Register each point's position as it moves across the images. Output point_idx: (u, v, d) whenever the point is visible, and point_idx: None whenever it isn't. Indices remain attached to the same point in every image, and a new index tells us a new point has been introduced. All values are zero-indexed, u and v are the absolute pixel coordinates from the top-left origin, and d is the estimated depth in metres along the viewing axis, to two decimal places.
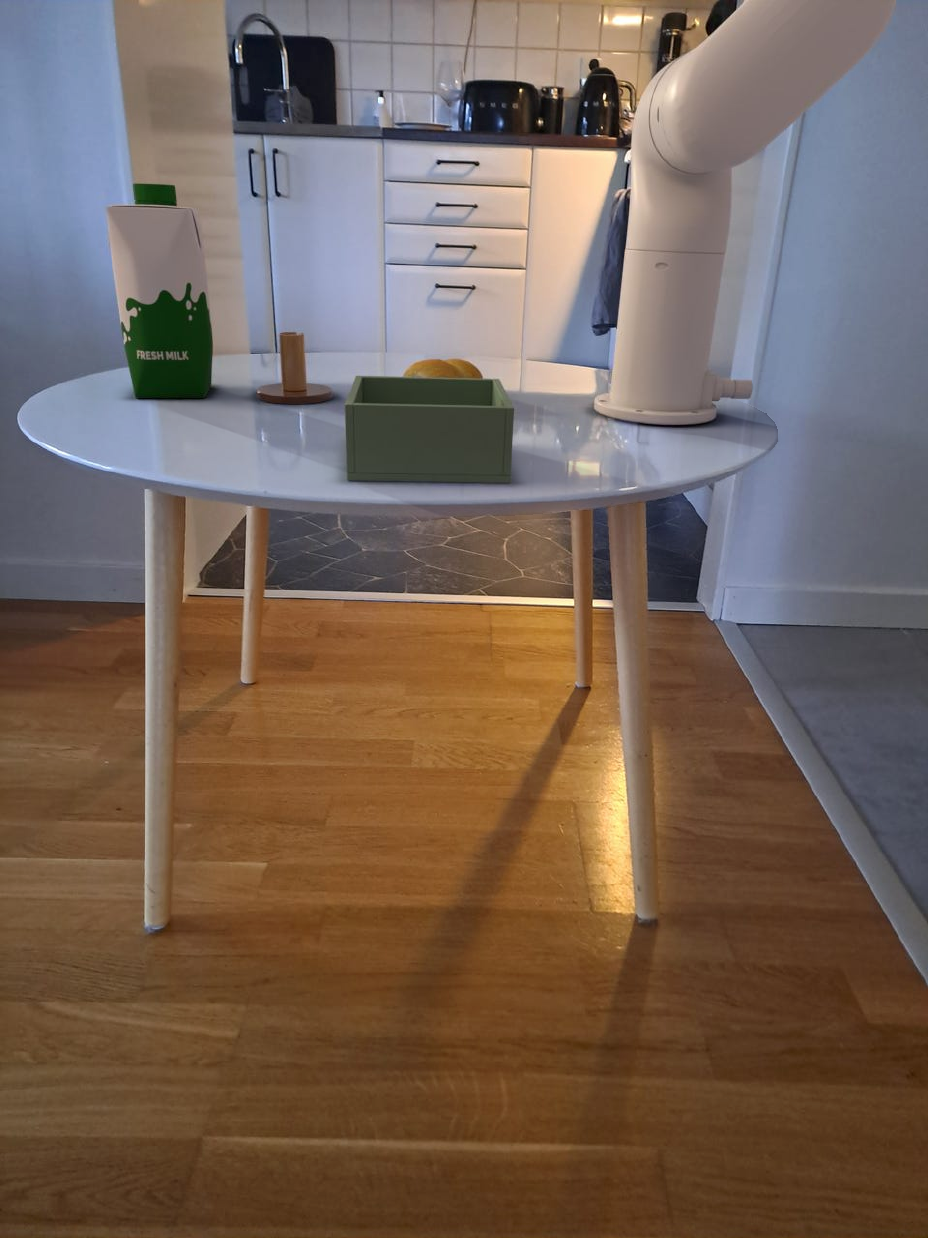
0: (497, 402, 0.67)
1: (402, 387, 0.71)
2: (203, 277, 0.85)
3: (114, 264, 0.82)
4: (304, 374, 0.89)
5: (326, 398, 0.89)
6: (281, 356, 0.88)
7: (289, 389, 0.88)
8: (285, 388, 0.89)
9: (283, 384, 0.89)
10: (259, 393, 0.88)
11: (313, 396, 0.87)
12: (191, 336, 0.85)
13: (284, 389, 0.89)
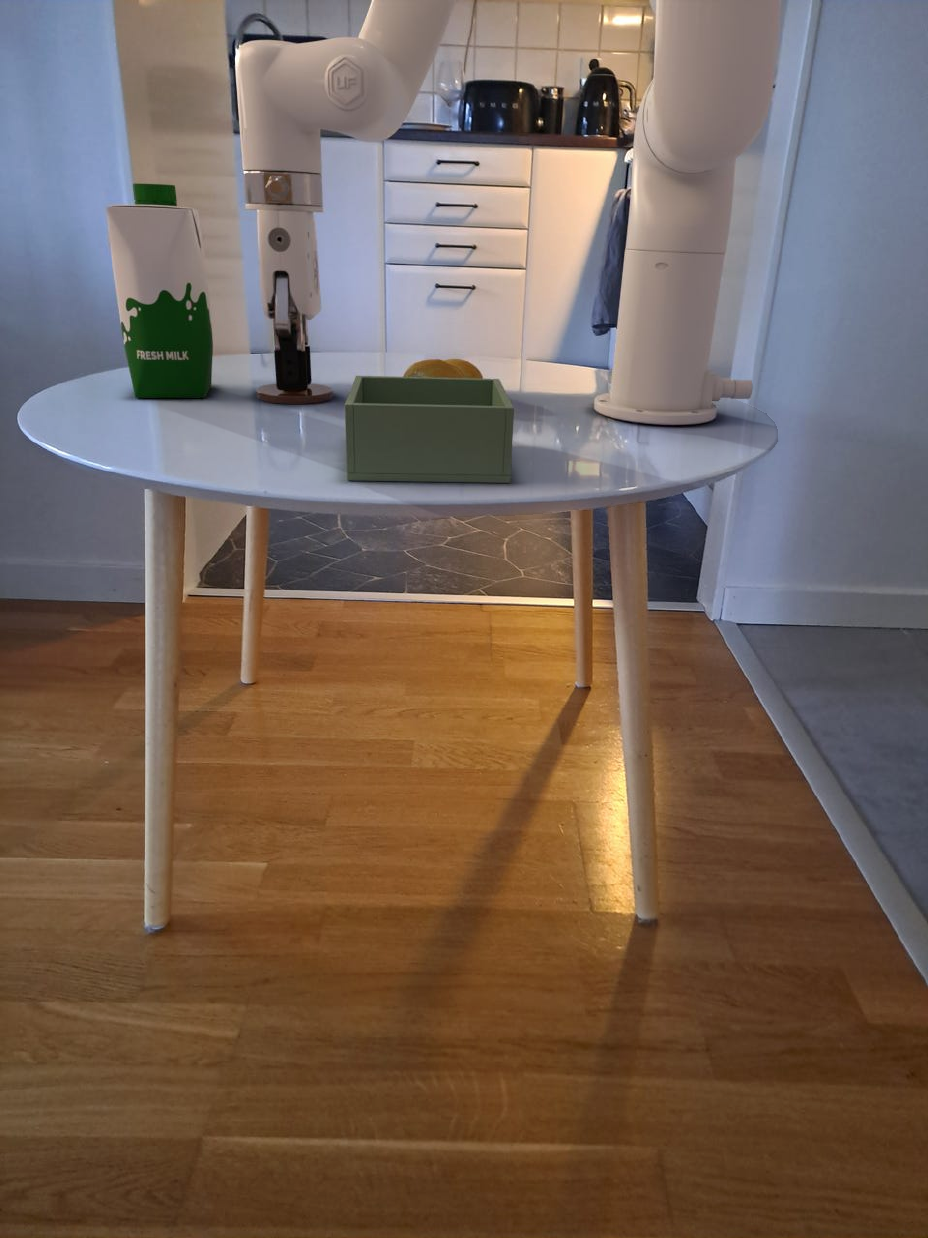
0: (497, 402, 0.67)
1: (402, 387, 0.71)
2: (203, 277, 0.85)
3: (114, 264, 0.82)
4: None
5: (326, 398, 0.89)
6: None
7: None
8: None
9: None
10: (259, 393, 0.88)
11: (313, 396, 0.87)
12: (191, 336, 0.85)
13: None
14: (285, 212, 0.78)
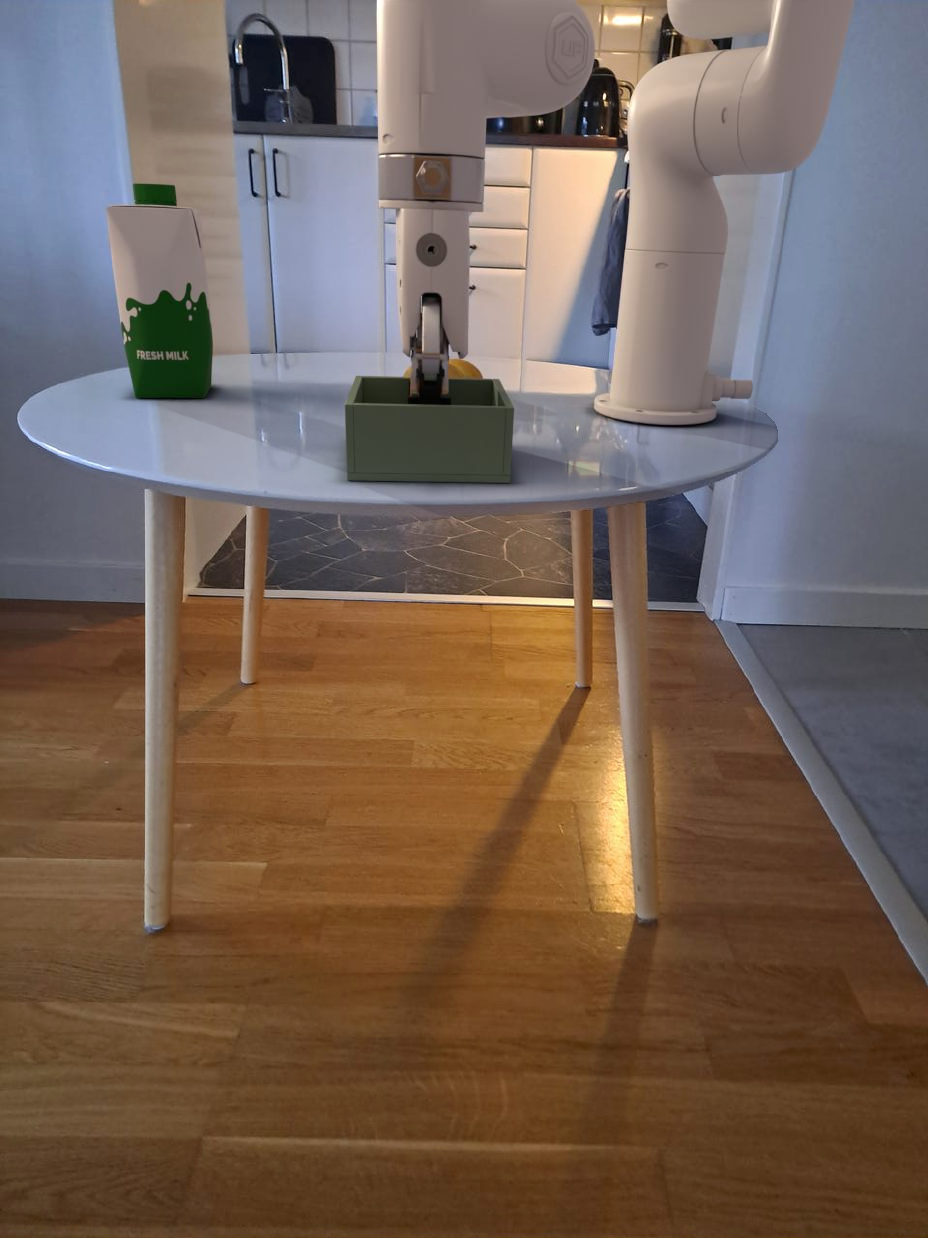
0: (497, 402, 0.67)
1: (402, 387, 0.71)
2: (203, 277, 0.85)
3: (114, 264, 0.82)
4: None
5: None
6: None
7: None
8: None
9: None
10: None
11: None
12: (191, 336, 0.85)
13: None
14: (442, 212, 0.56)
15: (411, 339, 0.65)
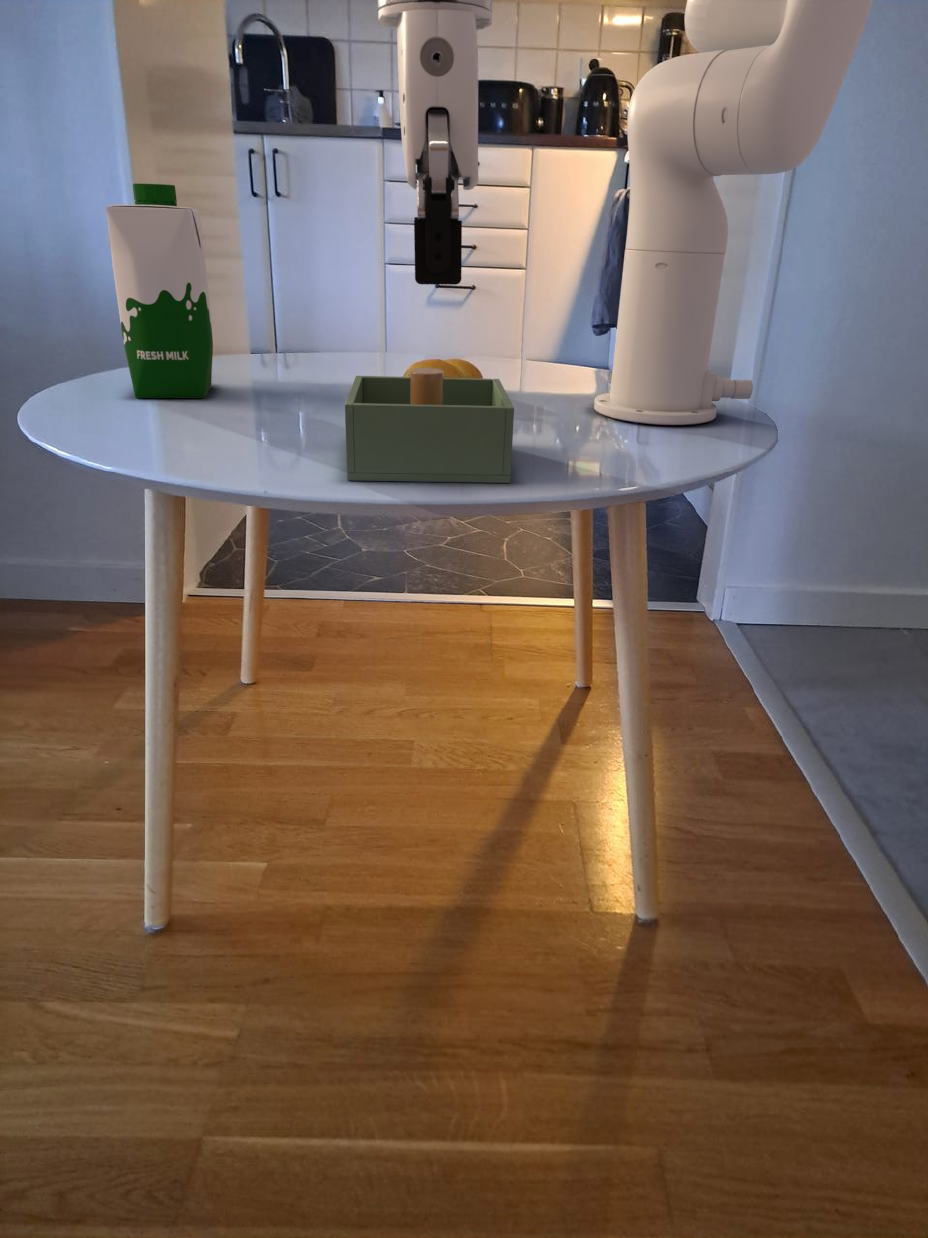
0: (497, 402, 0.67)
1: (402, 387, 0.71)
2: (203, 277, 0.85)
3: (114, 264, 0.82)
4: None
5: None
6: (412, 401, 0.65)
7: None
8: None
9: None
10: None
11: None
12: (191, 336, 0.85)
13: None
14: (447, 12, 0.51)
15: None
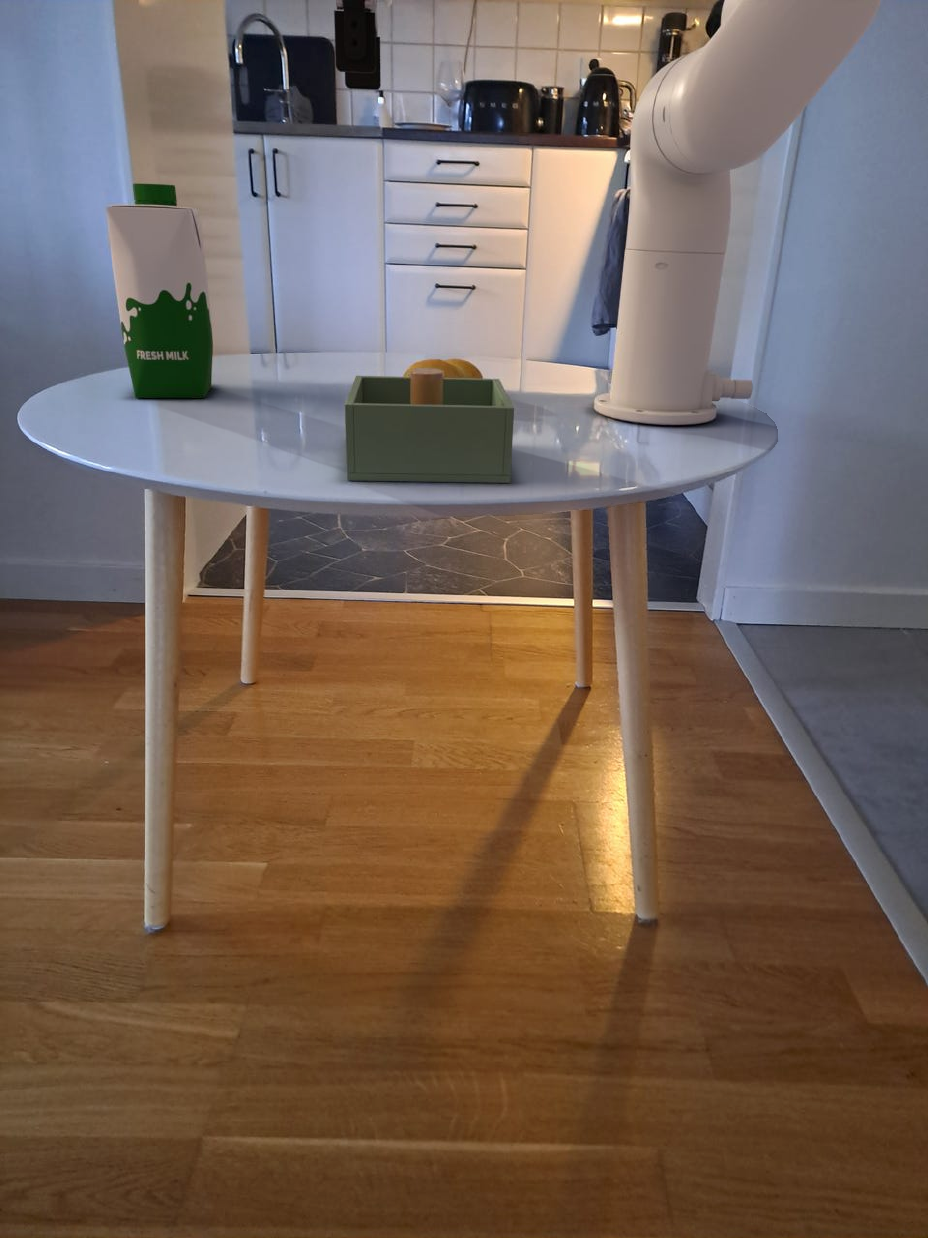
0: (497, 402, 0.67)
1: (402, 387, 0.71)
2: (203, 277, 0.85)
3: (114, 264, 0.82)
4: None
5: None
6: (412, 401, 0.65)
7: None
8: None
9: None
10: None
11: None
12: (191, 336, 0.85)
13: None
14: None
15: None
